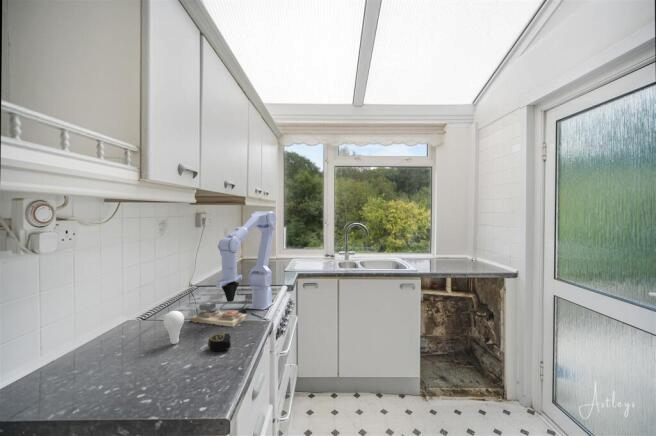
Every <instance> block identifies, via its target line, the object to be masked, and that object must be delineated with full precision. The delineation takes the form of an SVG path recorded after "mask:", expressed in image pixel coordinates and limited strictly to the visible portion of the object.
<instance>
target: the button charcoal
mask: <svg viewBox="0 0 656 436" xmlns="http://www.w3.org/2000/svg"><path fill="white" fill-rule="evenodd" d="M216 305H217V304H216V302H214V301H205V302H204V303H201V304H199V309H198V310H200V311H204V310H206V311H209V310H214V309H215V308H216Z"/></svg>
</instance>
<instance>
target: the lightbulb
mask: <svg viewBox="0 0 656 436" xmlns="http://www.w3.org/2000/svg"><path fill="white" fill-rule="evenodd" d="M184 322H185V316H184V314H183V313H182V312H181V311H179V310H171V311H170V312H168V313H167V314H165V317H164V318H163V326H164V328H166V330H167V332H168V337H169V340H170V343H171V344H173V345H176V344H177V343H178V342H180V341H179V340H180V334H181V329H182V326H183V325H184Z"/></svg>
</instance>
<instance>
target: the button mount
mask: <svg viewBox="0 0 656 436" xmlns="http://www.w3.org/2000/svg"><path fill="white" fill-rule="evenodd" d="M225 312H226V311H220V310H218V309H217V310H215V309H211V310H209V311H206V310H201V311H200V312H198V313H196V314H195V315H194V316H191V317H189V322H190V321H193V322H192V323H197V322H199V323H200V324H205V323H206V325H213V324H215V326H222V325H223V327H232V328H234V327H235V326H237V325H238V324H241V322H243V321H244V320H246V319H247V318H248V313H242V312H238V315H236V316H234V317H232V318H231V317H222V314H223V313H225ZM199 323H198V324H199Z"/></svg>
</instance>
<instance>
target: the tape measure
mask: <svg viewBox="0 0 656 436" xmlns="http://www.w3.org/2000/svg"><path fill="white" fill-rule="evenodd" d="M231 337H232V336H231V335H230V334H229V333H222V334H221V333H218V334H214V335H212V336H210V337H209V338H208V342H207V347H208V349H209V350H210V351H211V352H222V351H225V350H227V349H230V348H231Z"/></svg>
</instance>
